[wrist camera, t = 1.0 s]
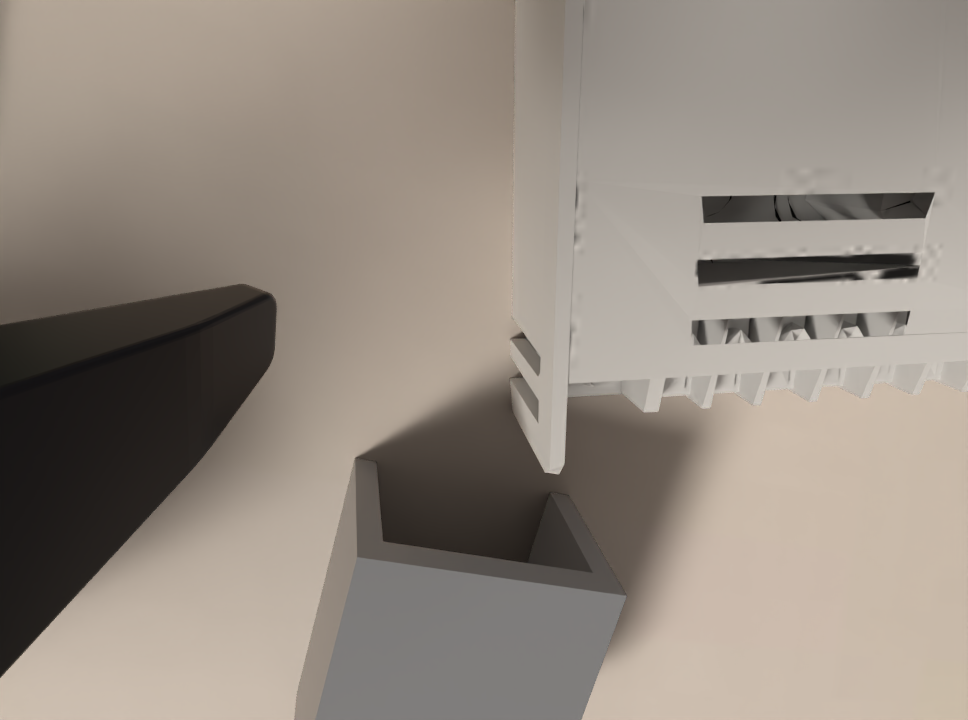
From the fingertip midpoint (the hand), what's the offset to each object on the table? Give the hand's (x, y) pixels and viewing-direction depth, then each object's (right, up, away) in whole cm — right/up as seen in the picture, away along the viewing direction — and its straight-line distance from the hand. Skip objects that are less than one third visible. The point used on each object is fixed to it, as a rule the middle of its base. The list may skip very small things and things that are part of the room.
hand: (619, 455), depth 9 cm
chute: (-3, -6, +14) cm, 16 cm away
